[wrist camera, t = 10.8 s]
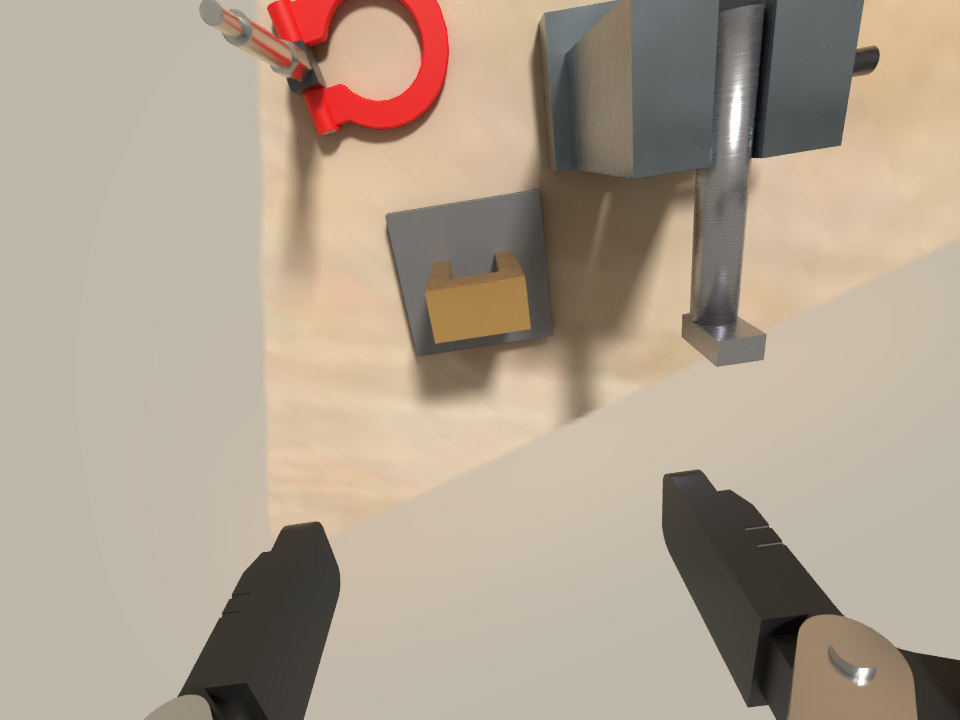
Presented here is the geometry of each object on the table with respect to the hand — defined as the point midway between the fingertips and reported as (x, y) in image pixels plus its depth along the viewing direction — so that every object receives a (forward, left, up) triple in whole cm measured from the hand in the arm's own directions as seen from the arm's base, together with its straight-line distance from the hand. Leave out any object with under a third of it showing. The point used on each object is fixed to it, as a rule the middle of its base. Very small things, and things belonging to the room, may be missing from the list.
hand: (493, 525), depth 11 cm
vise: (-13, -6, -24) cm, 28 cm away
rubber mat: (0, 0, -24) cm, 24 cm away
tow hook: (+4, -14, -24) cm, 28 cm away
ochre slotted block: (0, 0, -23) cm, 23 cm away
